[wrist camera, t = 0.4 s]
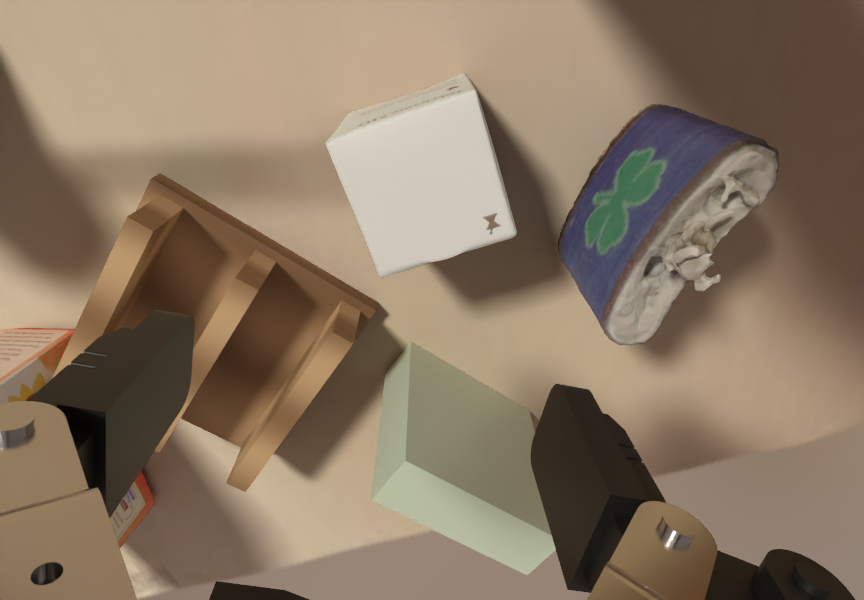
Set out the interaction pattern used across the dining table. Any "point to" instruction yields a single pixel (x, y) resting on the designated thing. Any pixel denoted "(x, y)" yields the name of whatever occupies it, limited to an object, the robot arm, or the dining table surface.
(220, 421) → the rack
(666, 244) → the flask
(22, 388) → the cracker box
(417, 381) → the sage green tall prism
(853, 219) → the dining table surface
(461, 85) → the product box
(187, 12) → the dining table surface
